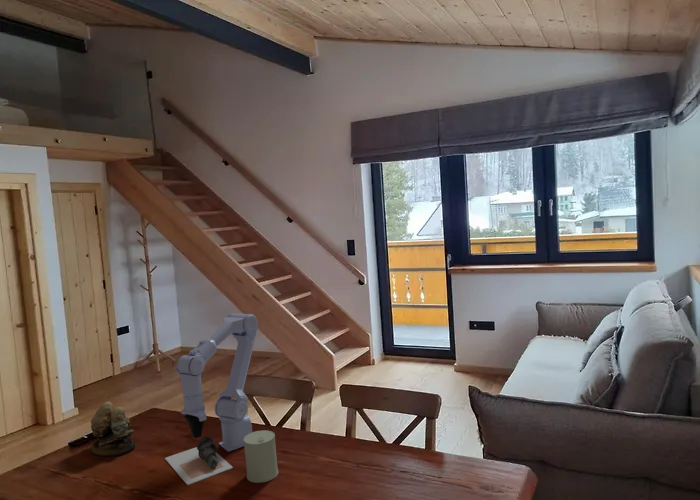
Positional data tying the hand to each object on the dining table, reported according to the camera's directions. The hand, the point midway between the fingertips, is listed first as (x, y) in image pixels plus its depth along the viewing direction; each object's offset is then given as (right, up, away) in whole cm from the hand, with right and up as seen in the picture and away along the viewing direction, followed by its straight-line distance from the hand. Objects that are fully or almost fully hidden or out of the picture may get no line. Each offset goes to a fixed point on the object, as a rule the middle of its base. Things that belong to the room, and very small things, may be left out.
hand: (197, 436), depth 159 cm
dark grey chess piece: (0, -5, +6) cm, 8 cm away
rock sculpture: (-34, -11, +18) cm, 40 cm away
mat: (-1, -9, +3) cm, 10 cm away
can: (+21, -9, -7) cm, 24 cm away
